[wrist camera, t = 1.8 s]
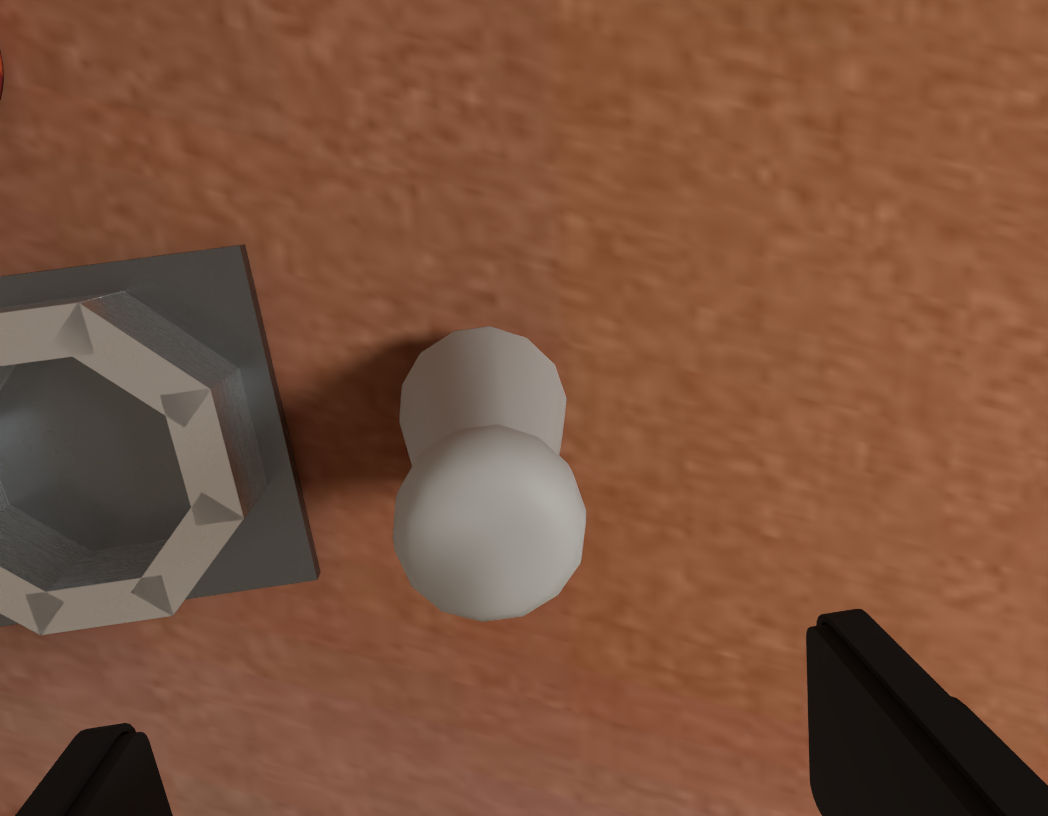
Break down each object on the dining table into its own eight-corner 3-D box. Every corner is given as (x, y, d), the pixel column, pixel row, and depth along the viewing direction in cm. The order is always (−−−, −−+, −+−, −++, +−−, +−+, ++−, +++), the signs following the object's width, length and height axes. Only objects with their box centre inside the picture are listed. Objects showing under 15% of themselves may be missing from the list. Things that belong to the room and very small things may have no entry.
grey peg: (548, 469, 28) (608, 678, 16) (402, 458, 28) (345, 666, 15) (565, 322, 27) (647, 427, 14) (411, 308, 26) (356, 405, 14)
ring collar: (-133, 294, 25) (-230, 308, 21) (244, 244, 25) (209, 251, 22) (-7, 620, 29) (-73, 678, 25) (320, 572, 29) (300, 622, 26)
